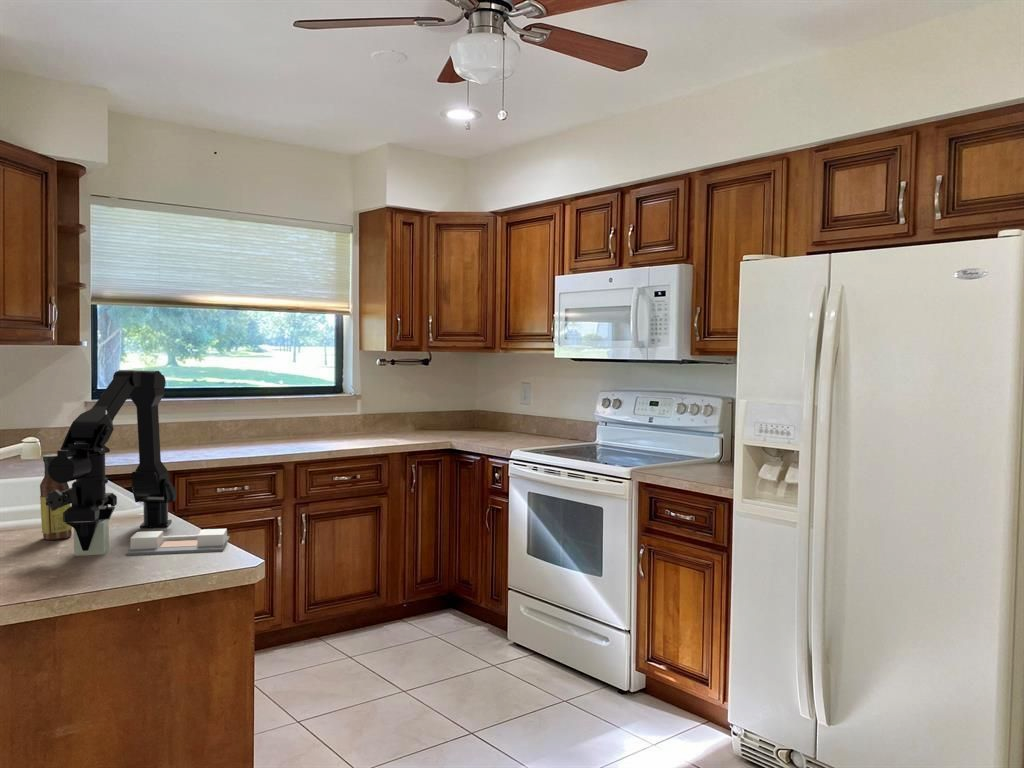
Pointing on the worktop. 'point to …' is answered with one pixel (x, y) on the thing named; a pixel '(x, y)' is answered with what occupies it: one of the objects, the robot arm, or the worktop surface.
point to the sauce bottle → (50, 519)
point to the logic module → (95, 540)
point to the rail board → (178, 542)
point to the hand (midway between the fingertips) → (91, 545)
